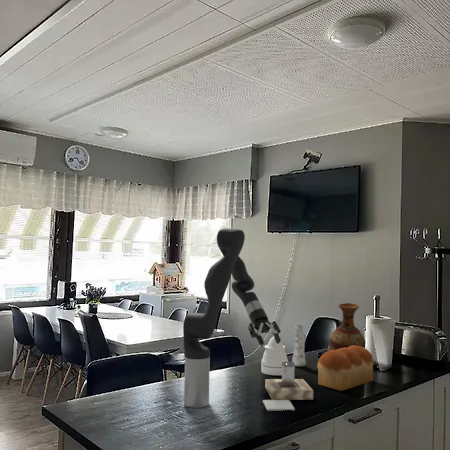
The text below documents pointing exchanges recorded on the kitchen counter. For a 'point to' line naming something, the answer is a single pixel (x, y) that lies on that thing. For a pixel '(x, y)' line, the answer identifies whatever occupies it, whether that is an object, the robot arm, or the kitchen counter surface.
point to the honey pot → (273, 358)
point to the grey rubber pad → (278, 405)
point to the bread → (345, 368)
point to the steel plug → (288, 374)
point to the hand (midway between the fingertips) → (270, 343)
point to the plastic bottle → (299, 346)
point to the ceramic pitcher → (346, 330)
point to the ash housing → (288, 390)
